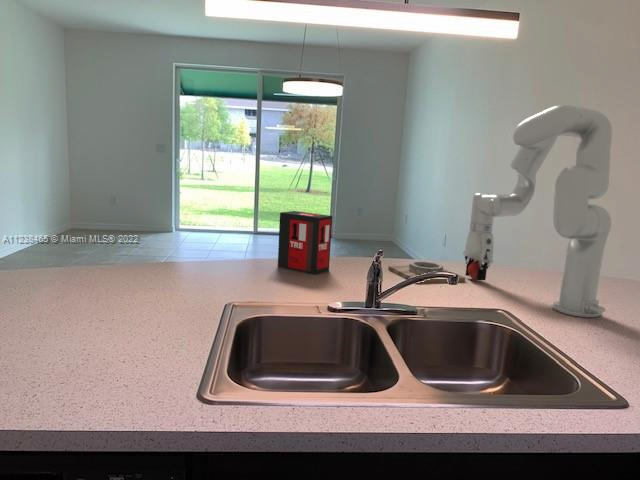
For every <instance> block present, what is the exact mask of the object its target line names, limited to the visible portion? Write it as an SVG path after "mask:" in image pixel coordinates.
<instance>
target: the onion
mask: <svg viewBox="0 0 640 480" xmlns="http://www.w3.org/2000/svg"><path fill="white" fill-rule="evenodd" d="M478 269H480V268H479V261H477V260H475V261H474V262H472V263H471V264H470V265H469V267H468V274H469V276H468V277H470V278H471V279H472V280H473V281H475V282H476V281H478V280H477V275H478Z"/></svg>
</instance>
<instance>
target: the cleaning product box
mask: <svg viewBox="0 0 640 480" xmlns="http://www.w3.org/2000/svg"><path fill="white" fill-rule="evenodd" d="M332 224H333V215H329V214H320V213H313V212H305V211H296V210H291V211H283V212H279V228H278V229H279V230H278V253H277V268H281V269H285V270H291V271H296V272H300V273H305V274H308V275H314V276H316V275H319V274H323V273H326V272H329V271H330V262H331V261H330V260H331V259H330V257H331V243H332V227H333V225H332Z"/></svg>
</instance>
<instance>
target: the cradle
mask: <svg viewBox="0 0 640 480" xmlns="http://www.w3.org/2000/svg"><path fill="white" fill-rule="evenodd" d="M387 270H388V271H390V272H391V273H394V274H396V275H398V276H400V277H401V278H404V279H406V280H407V278H410V277H413V276H417V275H421V274H424V273H428V272H433V271H450V270H448V269H445V268H444V265H442V264H440V263H437V262H430V261H422V260H421V261H420V260H419V261H418V260H417V261H411V262H410V263H409V265H408V264H407V265H388V268H387ZM450 272H452V271H450ZM458 275H459V282H458V283H462V282H463V283H465V282H466V277H465V276H463V275H460V274H458ZM436 283H437V284H440V283H448V282H447V279H430V280H426V281H424V282H420V283H419V284H436ZM416 284H418V283H416Z"/></svg>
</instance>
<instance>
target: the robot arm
mask: <svg viewBox="0 0 640 480" xmlns="http://www.w3.org/2000/svg"><path fill="white" fill-rule="evenodd" d="M611 123H612V122H611V121H610V119H609V118H608V116H606V115H605V114H604V113H602V112H600V111H598V110H596V109H592V108H589V107H583V106H575V105H570V104H558V105H554V106H552V107H549V108H547V109H545V110H543V111H541V112H538V113H537V114H534V115H532V116H529V117H528V118H525V119H524V120H522V121H521V122H520V123H518V125H517V126H516V128H515V129H514V131H513V135H512V139H513V143H514V144H515V145H516V146H517V147H518V150H517V152H516V154H515V155H514V156H513V158H512V160H511V162H510V167H511V169H512V170H513V171H514V172H515V173H516V174H517V183H516V185H515V187H514V188H513V190H512V192H511V193H510V194H509V193H508V194H507V193H506V194H505V193H503V194H494V193H490V192H475V193H474V194H473V197H472V203H471V204H472V205H471V213H470V214H471V215H470V222H469V223H470V225H469V230H468V234H467V239H466V244H465V250H464V251H463V252H462V253H463V256H464V260H465V265H466V266H465V268H466V269H465V276H467V277H470V276H469V274H468V267H469V265H470V264H471V263H472V262H474V261H475V260H477V261H479V268H480V269H478V275H477V281H486V279H487V278H486V277H487V271H488V269H489V268H490V266H491V265H492V264H493V263H494V260H493V256H494V234H493V233H492V231H493V225H494V218H505V217H517V216H519V215H521V214H522V213H523V212H524V211H525V209H526V208H527V207H528V205H529V203H530V202H531V200H532V198H533V196H534V195H535V191H536V184H537V178H536V175H537V173H538V172H539V170H540V168H541V167H542V165H543V163H544V161H545V160H546V158H547V156H548V155H549V153H550V152H551V150H552V148H553V147H554V145H555V143H556V141H557V139H558V137H559V136H562V137H563V136H565V137H572V138H573V137H574V138H579V139H580V142H579V144H578V147H577V150H576V157H575V158H576V159H575V164H573V165H570V166H567V167H565V168H564V169H562V170H561V171H560V172H559V174H558V176H557V177H556V181H555V184H554V197H553V198H554V199H553V213H552V214H553V218H552V219H553V226H554V229H555V231H556V233H557V234H558V235H559V236H560V237H562V238H564V239H569V241H568V244H567V246H566V251H565V257H564V264H563V271H562V278H561V285H560V292H559V298H558V301H555V302H552V309H554V310H555V311H557V312H559V313H562V314H565V315H569V316H573V317H578V318H579V317H581V318H597V317H599V316H601V315H603V313H605V311H606V308H605V307H603V306H600V305H599V303H600V300H599V299H597V295H598V289H599V282H600V277H601V270H602V263H603V259H604V258H603V257H604V252H605V246H606V244H607V240H608V237H609V235H610V232H611V227H612V218H611V215H610V213H609V211H608V210H607V209H606V208H604V207H602V206H601V205H597V204H589V200H590V201H591V200H598V199H600V198H602V197H603V196H605V195H606V194H607V192H608V189H609V185H610V169H611V168H610V167H611V147H612V138H613V127H612V124H611Z"/></svg>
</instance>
